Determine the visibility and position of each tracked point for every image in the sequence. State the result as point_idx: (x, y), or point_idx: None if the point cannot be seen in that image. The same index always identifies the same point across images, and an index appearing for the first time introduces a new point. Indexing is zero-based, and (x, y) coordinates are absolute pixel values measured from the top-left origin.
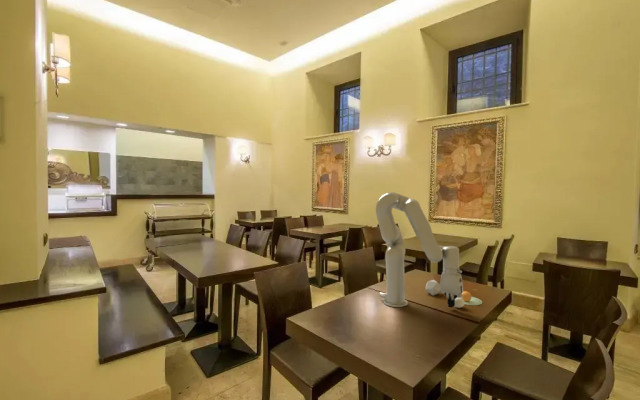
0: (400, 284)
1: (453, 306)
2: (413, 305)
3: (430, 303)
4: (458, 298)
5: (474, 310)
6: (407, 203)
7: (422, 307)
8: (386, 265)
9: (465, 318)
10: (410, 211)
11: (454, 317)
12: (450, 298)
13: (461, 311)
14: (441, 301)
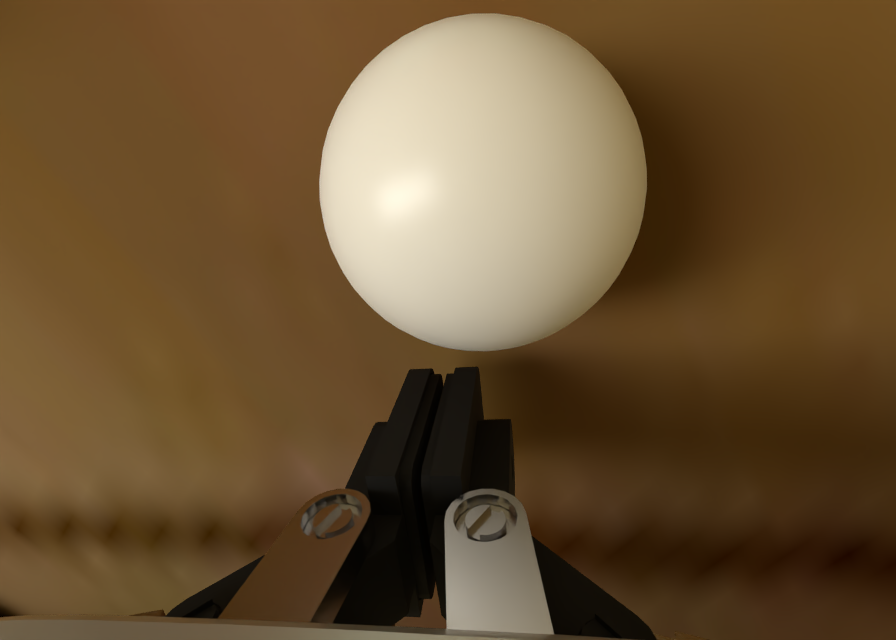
0: None
1: (480, 391)
2: (78, 608)
3: (92, 401)
4: (513, 311)
5: (848, 36)
6: None
7: (178, 593)
8: None
9: (814, 548)
10: None
11: (662, 611)
12: (406, 563)
13: (635, 334)
14: (73, 151)
